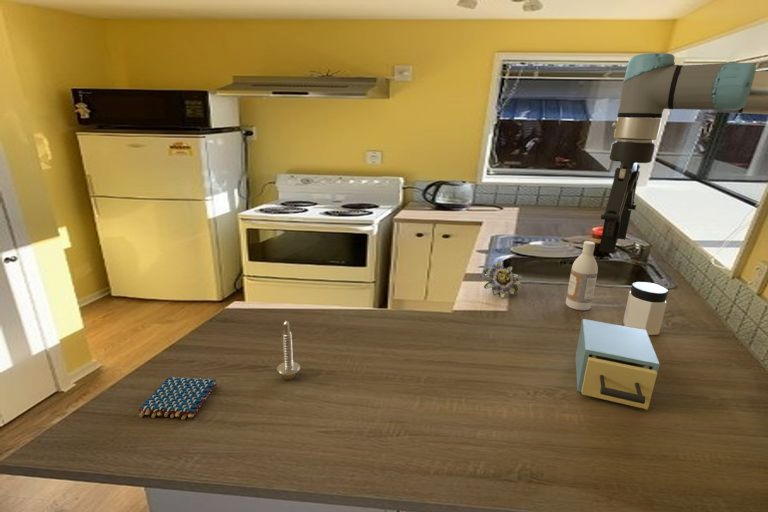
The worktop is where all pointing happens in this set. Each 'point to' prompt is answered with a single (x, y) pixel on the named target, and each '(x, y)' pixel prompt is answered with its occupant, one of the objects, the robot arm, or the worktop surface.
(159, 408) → the woven mat
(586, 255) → the bath foam
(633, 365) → the drawer
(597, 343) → the blue drawer cabinet
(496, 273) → the passion flower
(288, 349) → the screw
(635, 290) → the jar
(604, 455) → the worktop surface
